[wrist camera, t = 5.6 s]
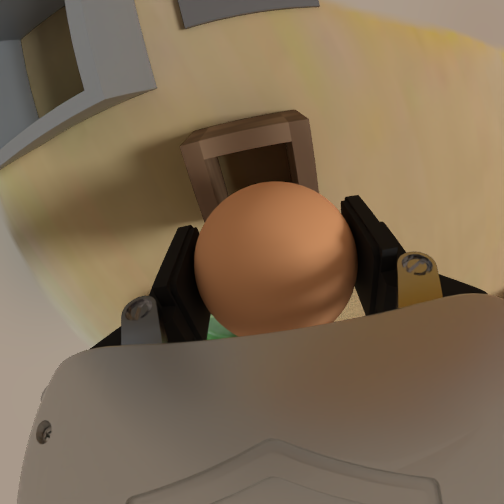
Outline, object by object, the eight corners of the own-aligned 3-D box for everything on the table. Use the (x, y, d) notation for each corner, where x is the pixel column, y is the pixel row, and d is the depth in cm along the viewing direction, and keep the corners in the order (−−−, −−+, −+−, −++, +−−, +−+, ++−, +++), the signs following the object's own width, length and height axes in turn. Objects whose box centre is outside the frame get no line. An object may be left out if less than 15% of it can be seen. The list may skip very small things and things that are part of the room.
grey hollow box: (125, -37, 8) (73, -70, 2) (156, 88, 14) (104, 99, 8) (13, 37, 9) (-50, 47, 3) (40, 145, 15) (-20, 183, 10)
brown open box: (295, 109, 15) (308, 119, 12) (309, 200, 19) (322, 230, 16) (193, 131, 16) (179, 146, 13) (219, 217, 20) (214, 249, 16)
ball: (329, 151, 11) (390, 215, 6) (338, 264, 14) (370, 360, 9) (190, 177, 12) (143, 258, 7) (225, 283, 15) (214, 382, 10)
